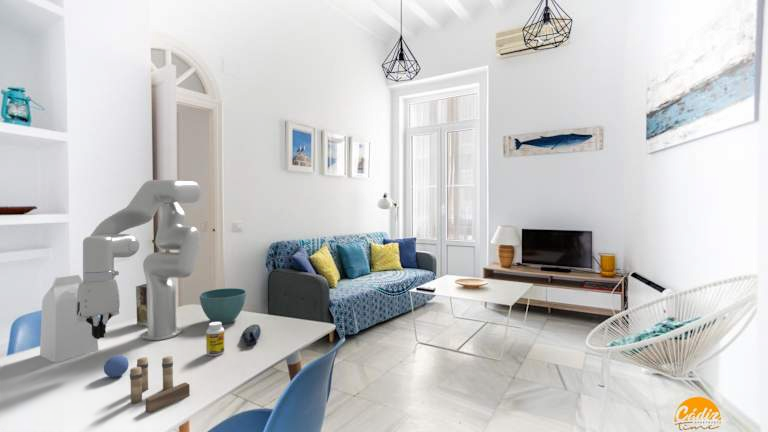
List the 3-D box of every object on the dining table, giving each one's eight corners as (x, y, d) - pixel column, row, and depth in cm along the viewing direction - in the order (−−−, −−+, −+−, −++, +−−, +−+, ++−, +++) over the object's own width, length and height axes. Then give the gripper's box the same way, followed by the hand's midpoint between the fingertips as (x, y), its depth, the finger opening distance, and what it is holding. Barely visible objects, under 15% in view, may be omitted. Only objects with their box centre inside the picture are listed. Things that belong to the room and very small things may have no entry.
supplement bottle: (208, 357, 126) (207, 327, 126) (205, 352, 131) (204, 322, 130) (226, 354, 129) (225, 324, 129) (222, 348, 134) (222, 319, 133)
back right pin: (128, 402, 98) (127, 369, 98) (139, 397, 100) (138, 365, 100) (133, 405, 97) (132, 371, 96) (144, 400, 99) (143, 368, 99)
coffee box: (166, 322, 163) (165, 284, 162) (152, 326, 157) (151, 287, 156) (150, 319, 166) (149, 282, 165) (136, 324, 160) (135, 285, 159)
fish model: (238, 349, 134) (238, 335, 134) (243, 330, 154) (243, 317, 154) (259, 347, 136) (259, 333, 135) (261, 329, 156) (261, 316, 156)
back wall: (145, 410, 94) (145, 398, 94) (185, 393, 103) (185, 382, 103) (150, 413, 93) (149, 400, 93) (189, 395, 102) (189, 384, 102)
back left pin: (160, 389, 105) (160, 358, 105) (170, 385, 107) (169, 355, 107) (165, 391, 104) (165, 360, 103) (175, 387, 106) (174, 357, 105)
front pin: (135, 390, 104) (134, 359, 104) (145, 386, 106) (144, 356, 106) (140, 393, 103) (139, 361, 103) (150, 389, 105) (149, 358, 105)
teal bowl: (212, 314, 174) (212, 287, 173) (252, 315, 173) (252, 288, 172) (191, 328, 155) (190, 297, 155) (236, 328, 155) (235, 298, 154)
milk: (82, 343, 138) (80, 271, 137) (98, 349, 132) (96, 274, 131) (39, 355, 128) (37, 277, 127) (55, 362, 122) (52, 281, 121)
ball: (100, 377, 112) (99, 357, 111) (122, 370, 117) (122, 350, 116) (109, 383, 108) (109, 362, 108) (132, 374, 114) (132, 354, 113)
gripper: (120, 272, 125) (120, 329, 125) (62, 279, 112) (63, 342, 112) (131, 274, 121) (131, 333, 121) (73, 281, 108) (73, 347, 108)
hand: (98, 337), depth 116 cm, fingers closed
